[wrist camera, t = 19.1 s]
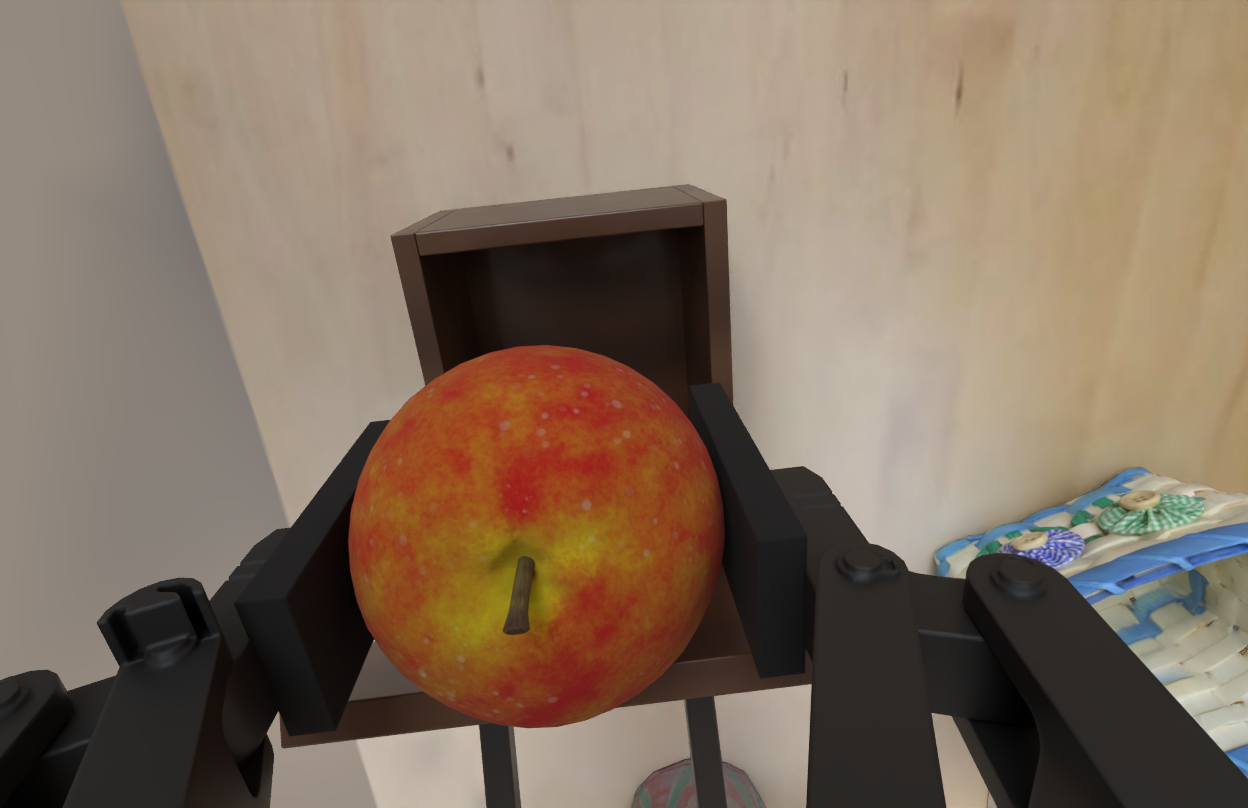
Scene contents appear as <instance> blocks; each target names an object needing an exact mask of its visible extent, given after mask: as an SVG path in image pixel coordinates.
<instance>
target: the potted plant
mask: <svg viewBox="0 0 1248 808" xmlns="http://www.w3.org/2000/svg"><path fill="white" fill-rule="evenodd" d="M722 766H723V775H724V783H725V791H726V799H727V807H728V808H766V807H765V805H764V803H763V801H762V800H761V798H760V796H759V794H758V792H757V790H756V789H755V787H754V786H753V784H752V783H751V781H750V780H749V778H748V777H747V775H746V774H745V772H744V771H742V770H740V769H738V768H736V767H734V766H732V765H730V764H728V763H725V762H722ZM632 808H697V805H696V797H695V788H694V780H693V771H692V763H691V759H686V760H684V761H681V762H679V763H676V764H673V765H671V766H668V767H666V768H663V769H661V770H658V771H655V772H653V773H652V774H651V775H650V776H649V778H648V779H647V780H646V781H645V782H644V783H643V784H642V785H641V786H640V787H639V788H638V789H637V791H636V793H635V798H634V801H633V805H632Z"/></svg>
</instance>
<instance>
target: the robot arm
mask: <svg viewBox="0 0 1248 808" xmlns="http://www.w3.org/2000/svg"><path fill="white" fill-rule="evenodd" d="M689 392H690V408H691V423H692V424H693V426H694V427H695V429H696V431H697V433H698V434H699V436H700V438H701V439H702V441H703V443H704V445H705V446H706V448H707V451H708V453H709V456H710V459H711V461H712V464H713V467H714V469H715V472H716V474H717V477H718V482H719V487H720V491H721V496H722V501H723V508H724V527H725V542H724V550H723V558H722V566H723V569H724V572H725V575H726V578H727V581H728V584H729V587H730V590H731V593H732V596H733V599H734V602H735V605H736V608H737V611H738V614H739V617H740V620H741V623H742V626H743V629H744V632H745V635H746V638H747V641H748V644H749V647H750V650H751V653H752V656H753V659H754V662H755V665H756V668H757V671H758V674H759V677H760V679H762V678H770V677H778V676H786V675H795V674H803V673H805V651H806V650H807V652H808V654H809V657H810V659H811V661H812V663H813V669H812V691H811V714H810V736H809V759H808V782H807V804H806V808H946V803H945V796H944V790H943V784H942V777H941V771H940V765H939V758H938V752H937V746H936V739H935V733H934V727H933V720H932V714H931V713H936V714H943V715H949V716H952V717H953V719H954V721H955V723H956V725H957V727H958V729H959V731H960V733H961V735H962V738H963V740H964V742H965V744H966V746H967V748H968V750H969V752H970V754H971V756H972V758H973V760H974V762H975V764H976V766H977V768H978V770H979V772H980V774H981V776H982V778H983V780H984V782H985V784H986V786H987V788H988V790H989V792H990V794H991V796H992V798H993V800H994V802H995V804H996V806H997V808H1248V778H1247V777H1246V776H1245V775H1244V774H1243V772H1242V771H1241V770H1240V769H1239V768H1238V767H1237V766H1236V765H1235V764H1234V763H1233V761H1232V760H1231V759H1230V758H1229V757H1228V756H1227V755H1226V754H1225V753H1224V751H1223V750H1222V749H1221V748H1220V747H1219V746H1218V745H1217V744H1216V743H1215V742H1214V740H1213V739H1212V738H1211V737H1210V736H1209V735H1208V734H1207V733H1206V732H1205V731H1204V729H1203V728H1202V727H1201V726H1200V725H1199V724H1198V723H1197V722H1196V721H1195V719H1194V718H1193V717H1192V716H1191V715H1190V714H1189V713H1188V712H1187V711H1186V710H1185V708H1184V707H1183V706H1182V705H1181V704H1180V703H1179V702H1178V701H1177V700H1176V698H1175V697H1174V696H1173V695H1172V694H1171V693H1170V692H1169V691H1168V690H1167V689H1166V687H1165V686H1164V685H1163V684H1162V683H1161V682H1160V681H1159V680H1158V679H1157V678H1156V676H1155V675H1154V674H1153V673H1152V672H1151V671H1150V670H1149V669H1148V668H1147V666H1146V665H1145V664H1144V663H1143V662H1142V661H1141V660H1140V659H1139V658H1138V657H1137V655H1136V654H1135V653H1134V652H1133V651H1132V650H1131V649H1130V648H1129V647H1128V646H1127V644H1126V643H1125V642H1124V641H1123V640H1122V639H1121V638H1120V637H1119V636H1118V634H1117V633H1116V632H1115V631H1114V630H1113V629H1112V628H1111V627H1110V626H1109V625H1108V623H1107V622H1106V621H1105V620H1104V619H1103V618H1102V617H1101V616H1100V615H1099V613H1098V612H1097V611H1096V610H1095V609H1094V608H1093V607H1092V606H1091V605H1090V604H1089V602H1088V601H1087V600H1086V599H1085V598H1084V597H1083V596H1082V595H1081V594H1080V593H1079V591H1078V590H1077V589H1076V588H1075V587H1074V586H1073V585H1072V584H1071V583H1070V581H1069V580H1068V579H1067V578H1065V577H1064V576H1063V575H1062V574H1060V573H1059V572H1058V571H1057V570H1055V569H1054V568H1053V567H1051V566H1049V565H1046V564H1044V563H1042V562H1040V561H1038V560H1036V559H1032V558H1029V557H1026V556H1022V555H1017V554H1007V553H992V554H987V555H981V556H979V557H977V558H976V559H974V560H972V561H971V562H970V563H969V566H968V568H967V571H966V577H965V579H962V578H952V577H941V576H931V575H924V574H918V573H914V572H911V571H908V568H907V566H906V564H905V562H904V561H903V560H902V559H901V558H900V557H898V556H897V555H896V554H895V553H894V552H892V551H890V550H887V549H885V548H883V547H881V546H878V545H874V544H869V543H868V541H867V540H866V538H865V537H864V536H863V534H862V533H861V531H860V530H859V529H858V527H857V526H856V524H855V523H854V522H853V520H852V519H851V517H850V516H849V515H848V513H847V512H846V510H845V509H844V508H843V506H841V505H840V502H839V501H838V499H837V498H836V496H835V495H834V494H832V491H831V489H830V488H829V487H828V485H827V484H826V482H825V481H824V480H823V478H822V477H820V476H819V475H817V474H815V473H814V472H812V471H810V470H809V469H807V468H805V467H804V466H801V467H792V468H784V469H775V470H770V469H769V468H768V466H767V464H766V462H765V461H764V459H763V457H762V455H761V454H760V452H759V450H758V448H757V447H756V445H755V443H754V441H753V440H752V438H751V436H750V434H749V433H748V431H747V429H746V427H745V426H744V424H743V422H742V420H741V419H740V417H739V415H738V413H737V412H736V410H735V408H734V406H733V405H732V403H731V401H730V399H729V398H728V396H727V394H726V392H725V391H724V389H723V387H722V385H721V384H720V382H719V383H711V384H702V385H693V386H689ZM390 421H391V420H385V421H376V422H370V424H369V425H368V426H367V427H366V429H365V430H364V431H363V433H362V434H361V435H360V437H359V438H358V439H357V441H356V442H355V443H354V445H353V446H352V447H351V449H350V450H349V451H348V453H347V454H346V455H345V457H344V458H343V459H342V461H341V462H340V463H339V465H338V466H337V467H336V469H335V470H334V471H333V473H332V474H331V475H330V477H329V478H328V479H327V481H326V482H325V483H324V484H323V486H322V487H321V488H320V490H319V491H318V492H317V494H316V495H315V496H314V498H313V499H312V500H311V502H310V503H309V504H308V506H307V507H306V508H305V510H304V511H303V512H302V514H301V515H300V516H299V518H298V519H297V520H296V522H295V523H294V524H293V526H292V527H291V528H284V529H277V530H275V531H274V532H272V533H271V534H270V535H269V536H267V537H266V538H264V539H263V540H261V541H260V542H259V543H257V544H256V545H254V547H253V548H252V549H251V550H250V552H249V553H248V554H247V555H246V557H245V558H244V559H243V560H242V562H241V563H240V564H241V565H240V566H237V568H236V569H235V570H234V571H233V573H232V574H231V575H230V576H229V581H225V582H224V584H223V585H222V586H221V587H220V588H219V590H218V591H217V592H216V593H215V595H214V596H213V597H212V598H211V600H210V601H209V600H208V598H207V595H206V593H205V591H204V588H203V586H202V584H201V582H199V581H197V580H195V579H193V578H176V579H171V580H165V581H160V582H158V583H155V584H152V585H150V586H147V587H144V588H142V589H139V590H138V591H136V592H134V593H132V594H130V595H128V596H126V597H124V598H123V599H121V600H120V601H119V602H117V603H116V604H114V605H113V606H112V607H110V608H109V609H108V610H107V611H106V612H105V613H104V614H103V615H102V617H101V618H100V619H99V621H98V622H97V625H98V626H99V629H100V630H101V632H102V634H103V636H104V638H105V640H106V642H107V644H108V646H109V648H110V649H111V651H112V653H113V655H114V657H115V659H116V661H117V663H118V664H119V666H120V668H119V670H118V673H117V675H116V676H113V677H110V678H107V679H104V680H101V681H98V682H94V683H91V684H88V685H85V686H82V687H79V688H76V689H73V690H70V691H67V690H66V688H65V687H64V685H63V683H62V682H61V680H60V678H59V676H58V675H57V674H56V673H54V672H51V671H49V670H37V671H29V672H26V673H22V674H19V675H15V676H11V677H8V678H5V679H2V680H0V808H270V798H271V787H272V775H273V763H274V753H273V748H272V745H271V742H270V740H269V738H268V736H267V731H268V729H269V727H270V726H271V724H272V722H273V720H274V718H275V716H276V714H277V712H278V711H279V713H280V715H281V718H282V720H283V723H284V725H285V727H286V730H287V732H288V735H289V737H290V736H298V735H306V734H314V733H322V732H330V731H336V729H337V727H338V724H339V722H340V719H341V717H342V715H343V712H344V710H345V707H346V705H347V703H348V700H349V698H350V696H351V693H352V691H353V688H354V686H355V684H356V681H357V679H358V676H359V674H360V672H361V669H362V667H363V664H364V662H365V660H366V657H367V655H368V652H369V650H370V648H371V645H372V643H373V640H374V638H373V636H372V635H371V633H370V631H369V630H368V628H367V626H366V623H365V621H364V618H363V616H362V613H361V611H360V608H359V606H358V603H357V600H356V596H355V591H354V586H353V582H352V577H351V572H350V561H349V545H348V538H349V527H350V516H351V508H352V504H353V500H354V496H355V492H356V488H357V484H358V480H359V478H360V475H361V473H362V470H363V468H364V466H365V463H366V461H367V459H368V456H369V454H370V452H371V450H372V448H373V446H374V445H375V443H376V442H377V440H378V438H379V437H380V435H381V434H382V432H383V430H384V429H385V427H386V426H387V424H388V423H389V422H390Z"/></svg>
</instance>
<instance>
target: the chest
mask: <svg viewBox="0 0 1248 808" xmlns="http://www.w3.org/2000/svg"><path fill="white" fill-rule="evenodd" d="M391 240H392V244H393V249H394V253H395V257H396V261H397V266H398V270H399V274H400V278H401V283H402V287H403V291H404V296H405V300H406V304H407V308H408V313H409V317H410V321H411V325H412V330H413V334H414V338H415V343H416V347H417V351H418V355H419V360H420V364H421V368H422V372H423V377H424V381H425V385H427V384H429V383H430V382H431V381H432V380H434V379H435V378H437V377H439V376H440V375H442V374H444V373H446V372H447V371H449V370H451V369H452V368H454V367H456V366H458V365H459V364H462V363H464V362H467V361H469V360H472V359H475V358H477V357H480V356H482V355H485V354H487V353H490V352H495V351H500V350H504V349H509V348H514V347H519V346H538V345H551V346H560V347H570V348H577V349H581V350H585V351H588V352H592V353H596V354H600V355H603V356H606V357H608V358H610V359H613V360H615V361H617V362H619V363H622V364H624V365H626V366H628V367H630V368H632V369H633V370H635V371H636V372H638V373H639V374H641V375H643V376H644V377H646V378H647V379H649V380H650V381H652V382H653V383H654V384H655V385H657V386H658V387H659V388H660V389H661V390H662V391H663V392H664V393H665V394H667V395H668V396H669V397H670V398H671V399H672V400H673V401H674V402H675V403H676V404H677V405H678V407H679V408H680V409H681V410H682V412H683V413H684V414H685V415H686V416H687V418H688V419H689V420H690V421H691V408H690V392H689V386H693V385H702V384H711V383H719V382H720V384H721V385H722V387H723V389H724V391H725V392H726V394H727V396H728V398H729V399H730V401H731V403H732V405H733V384H732V354H731V323H730V293H729V262H728V232H727V201H726V199H723V198H721V197H719V196H716V195H714V194H711V193H709V192H707V191H704V190H702V189H700V188H697V187H695V186H692V185H689V184H687V185H678V186H669V187H659V188H650V189H641V190H631V191H622V192H613V193H603V194H594V195H584V196H575V197H566V198H556V199H547V200H538V201H528V202H519V203H510V204H500V205H491V206H482V207H472V208H463V209H454V210H444V211H439V212H437V213H435V214H433V215H431V216H429V217H427V218H425V219H423V220H421V221H419V222H417V223H415V224H413V225H411V226H409V227H407V228H405V229H403V230H401V231H399V232H397V233H395V234H393V235H391Z"/></svg>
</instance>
